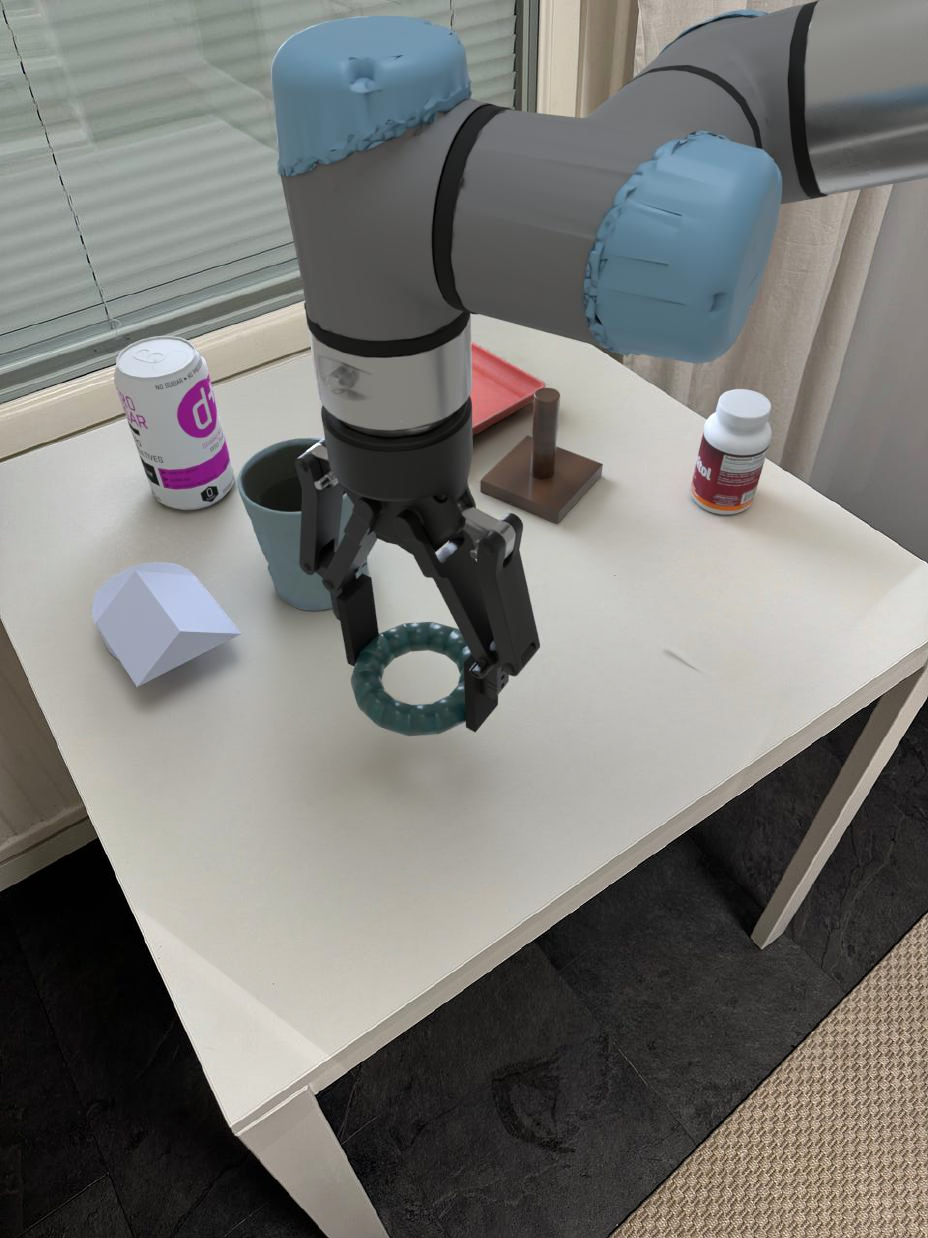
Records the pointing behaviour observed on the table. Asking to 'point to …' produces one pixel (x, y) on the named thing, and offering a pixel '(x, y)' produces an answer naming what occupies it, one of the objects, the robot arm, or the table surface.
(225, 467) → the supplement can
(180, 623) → the wedge on round base
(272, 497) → the blue-grey embossed cup
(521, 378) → the plant saucer
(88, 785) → the table surface
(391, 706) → the teal beaded ring
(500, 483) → the stand
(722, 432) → the pill bottle
